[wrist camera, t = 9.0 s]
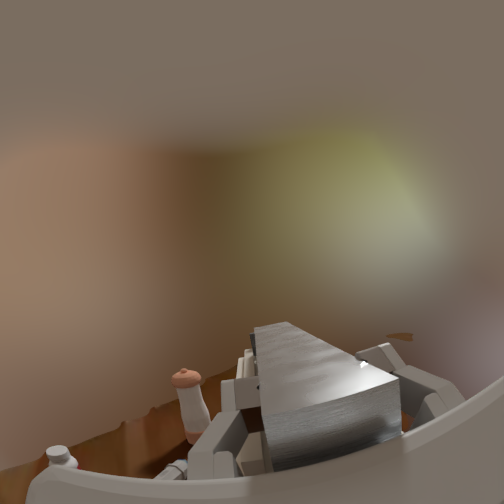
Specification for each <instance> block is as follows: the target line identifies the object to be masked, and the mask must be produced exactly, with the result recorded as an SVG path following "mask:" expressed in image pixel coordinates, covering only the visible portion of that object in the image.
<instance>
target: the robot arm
mask: <svg viewBox="0 0 504 504" xmlns="http://www.w3.org/2000/svg"><path fill="white" fill-rule="evenodd" d="M355 357H356V358H358V359H360V360H362V361H364V362H366V363H368V364H370V365H372V366H374V367H376V368H379V369H381V370H383V371H385V372H387V373H389V374H391V375H393V376H395V377H398V378H399V386H400V402H401V410H402V411H403V412H405V413H407V414H408V415H410V416H412V417H413V418H415V420H414V422H413V424H412V426H411V428H410V431H408V432H406V433H404V434H402V435H399V436H397V437H395V438H392V439H390V440H387V441H385V442H382V443H380V444H377V445H374V446H372V447H369V448H366V449H363V450H360V451H357V452H354V453H351V454H348V455H345V456H342V457H338V458H335V459H331V460H328V461H324V462H320V463H316V464H312V465H308V466H304V467H299V468H295V469H290V470H285V471H279V472H273V473H267V474H261V475H254V476H245V477H244V475H243V473H242V471H241V469H240V467H239V466H238V464H237V462H236V458H237V456H238V454H239V452H240V450H241V449H242V447H243V445H244V443H245V441H246V439H247V437H248V435H249V434H250V433H256V432H261V431H265V429H264V424H263V419H262V413H261V401H260V390H259V385H260V379H259V376H253V377H246V378H238V379H232V380H223V381H221V403H222V412H220V413H218V414H217V415H216V417H215V418H214V419H213V421H212V422H211V423H210V425H209V426H208V427H207V429H206V430H205V431H204V433H203V434H202V435H201V437H200V438H199V439H198V441H197V442H196V443H195V445H194V446H193V447H192V448H191V450H190V451H189V452H188V468H187V480H158V479H142V478H131V477H122V476H114V475H107V474H101V473H95V472H89V471H84V470H79V469H75V468H70V467H66V466H62V465H56V464H55V465H51V466H49V467H48V468H46V469H45V470H44V471H43V472H41V473H40V474H39V475H38V476H36V477H35V478H34V479H33V480H32V482H31V484H30V486H29V489H28V493H27V497H26V502H25V504H504V375H503V376H502V377H501V378H500V379H498V380H497V381H495V382H494V383H493V384H491V385H490V386H488V387H487V388H485V389H484V390H482V391H481V392H479V393H478V394H476V395H475V396H473V397H472V398H470V399H468V400H467V401H466V400H465V399H464V398H463V396H462V395H461V394H460V392H459V391H458V390H457V388H456V387H455V386H454V384H453V383H452V382H450V381H447V380H445V379H442V378H439V377H437V376H435V375H432V374H430V373H427V372H425V371H422V370H420V369H417V368H415V367H413V366H410V365H408V366H406V365H405V363H404V362H403V361H402V359H401V358H400V356H399V355H398V354H397V352H396V351H395V350H394V348H393V347H392V346H391V344H390V343H385V344H382V345H379V346H375V347H372V348H369V349H366V350H363V351H360V352H357V353H356V354H355Z"/></svg>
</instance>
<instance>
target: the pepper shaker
mask: <svg viewBox="0 0 504 504" xmlns="http://www.w3.org/2000/svg"><path fill="white" fill-rule="evenodd" d="M200 381H201V376H200V374H198V373H197V372H196V371H191V370H187V369H185V368H183V369H181V371H180V372H178V373H176V374H175V375H173V377H172V379H171V383H172V385H173V386H174V387H175V388H176V389H177V393H178V397H179V401H180V406H181V415H182V420H183V423H184V426H185V428H184V431H185V434H186V438H187V441H188V442H189V443H190V444H192V445H195V443H196V442H197V441H198V439H199V438H200V437H201V435H202V434H203V433H204V431H205V430H206V429H207V427H208V426H209V425H210V423H211V421H210V416H209V412H208V410H207V407H206V405H205V403H204V401H203V398H202V394H201V390H200V386H199V383H200Z"/></svg>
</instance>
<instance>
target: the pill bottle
mask: <svg viewBox="0 0 504 504" xmlns="http://www.w3.org/2000/svg"><path fill="white" fill-rule="evenodd" d="M46 454H47V456H48V458H49V460H50V461H49V466H51V465H55V464H56V465H62V466H66V467H70V468H75V469H79V470H81V468H80V466H79V464H78V462H77V460H76V459H75V458H74V457H72V456H70V453H69V451H68V449H67V447H65V446H60V445H58V446H52V447H50V448H48V449H47V450H46Z"/></svg>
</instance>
